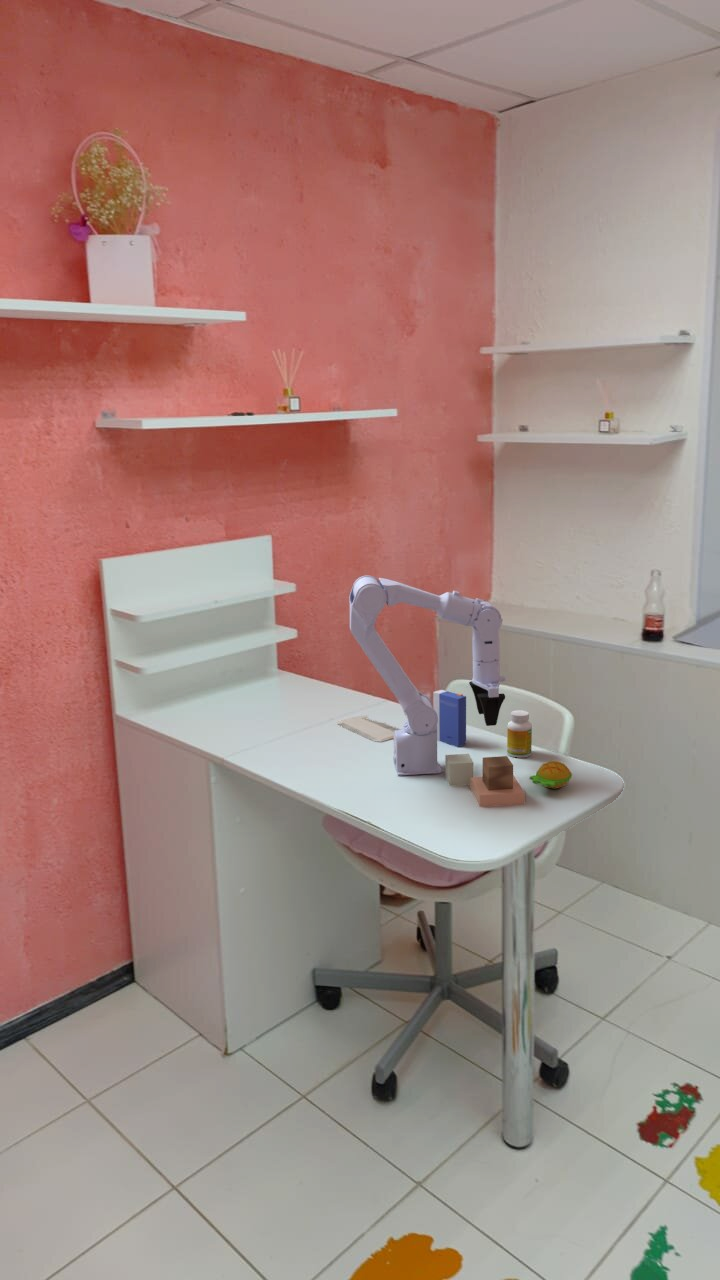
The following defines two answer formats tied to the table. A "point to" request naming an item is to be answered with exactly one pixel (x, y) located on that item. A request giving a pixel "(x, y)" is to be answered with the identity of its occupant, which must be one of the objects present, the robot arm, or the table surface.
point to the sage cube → (458, 769)
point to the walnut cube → (497, 773)
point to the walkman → (450, 717)
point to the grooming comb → (369, 728)
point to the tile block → (496, 794)
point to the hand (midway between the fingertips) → (487, 719)
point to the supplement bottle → (519, 734)
